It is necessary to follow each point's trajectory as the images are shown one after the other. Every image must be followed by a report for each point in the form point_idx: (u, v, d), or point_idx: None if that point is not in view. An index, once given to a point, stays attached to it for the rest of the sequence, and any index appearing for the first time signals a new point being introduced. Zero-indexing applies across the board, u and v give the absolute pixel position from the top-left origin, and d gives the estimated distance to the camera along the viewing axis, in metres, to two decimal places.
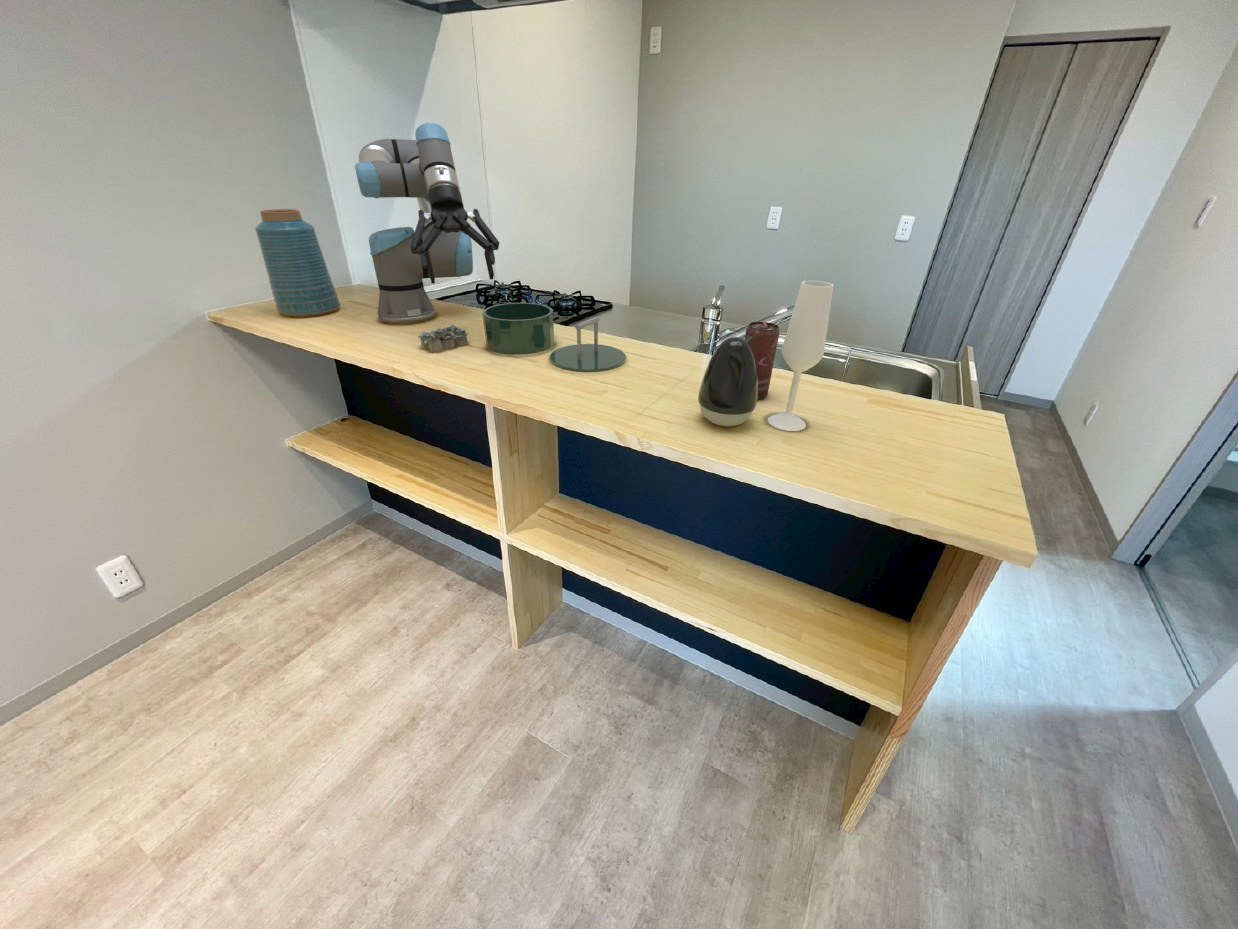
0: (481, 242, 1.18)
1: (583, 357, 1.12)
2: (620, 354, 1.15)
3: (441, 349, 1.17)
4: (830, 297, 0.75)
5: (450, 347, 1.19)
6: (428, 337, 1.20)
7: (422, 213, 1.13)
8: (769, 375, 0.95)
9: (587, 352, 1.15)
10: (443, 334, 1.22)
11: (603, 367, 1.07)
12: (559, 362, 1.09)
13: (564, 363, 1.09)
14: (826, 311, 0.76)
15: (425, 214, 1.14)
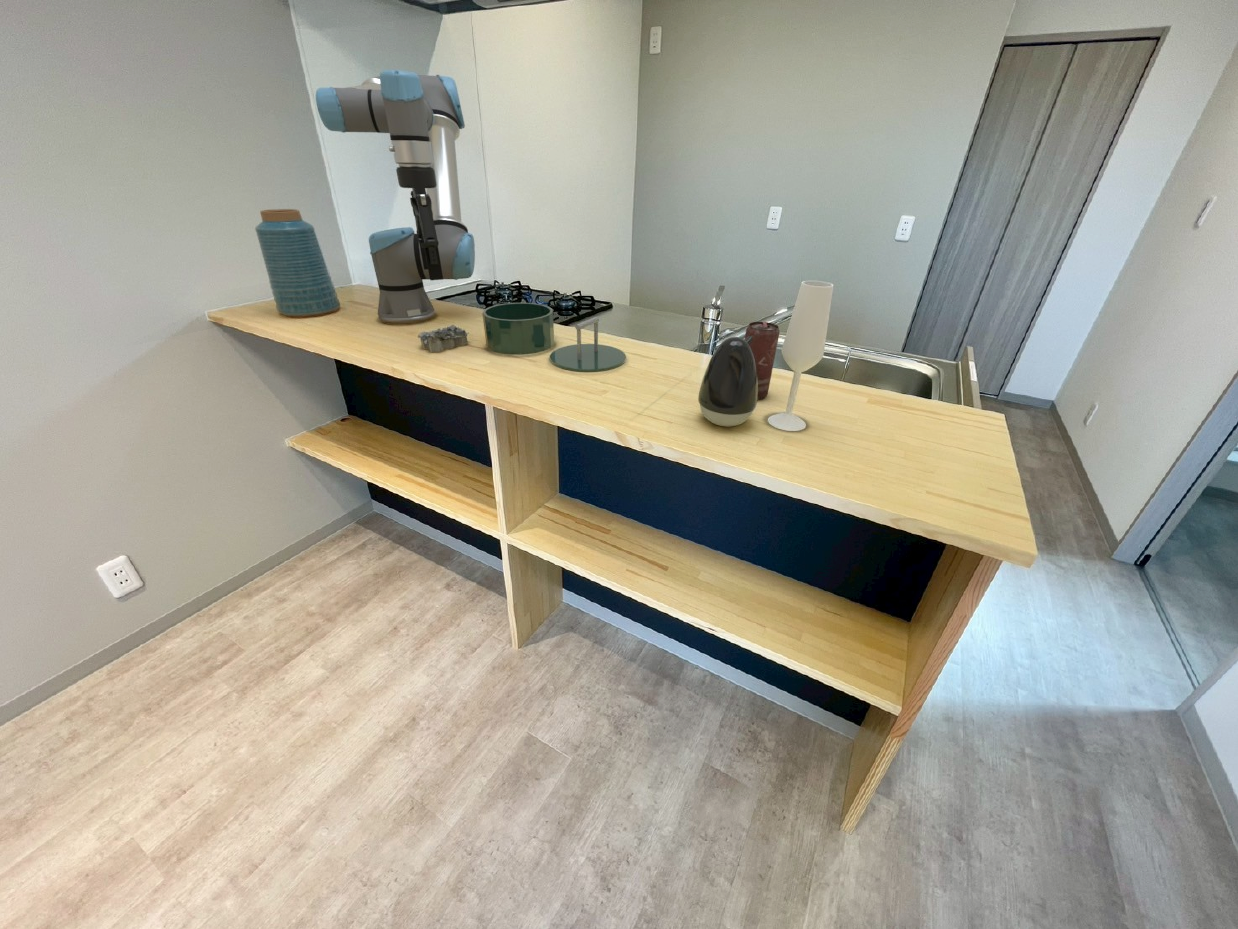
0: None
1: (583, 357, 1.12)
2: (620, 354, 1.15)
3: (441, 349, 1.17)
4: (830, 297, 0.75)
5: (450, 347, 1.19)
6: (428, 337, 1.20)
7: (411, 195, 1.09)
8: (769, 375, 0.95)
9: (587, 352, 1.15)
10: (443, 334, 1.22)
11: (603, 367, 1.07)
12: (559, 362, 1.09)
13: (564, 363, 1.09)
14: (826, 311, 0.76)
15: None
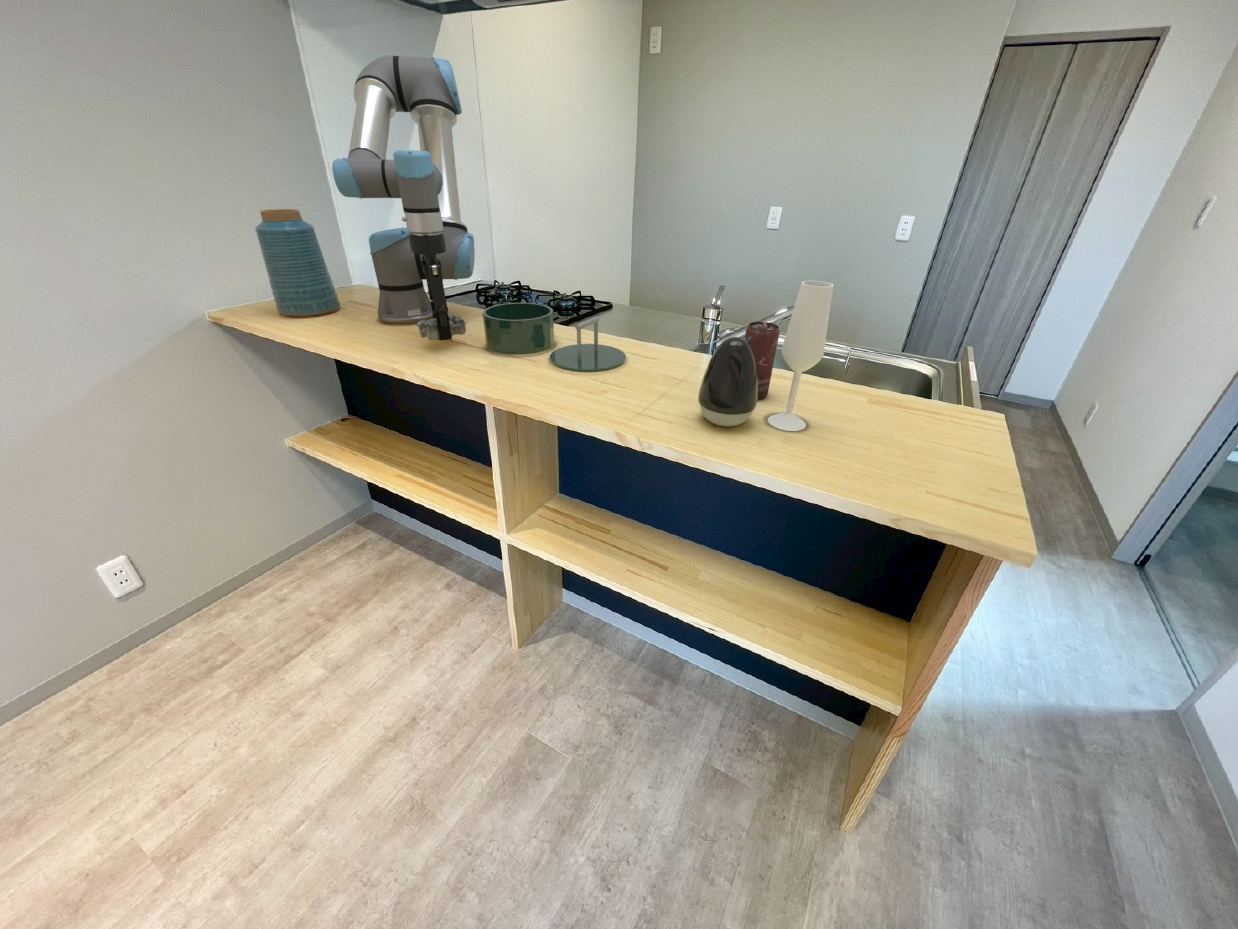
0: None
1: (583, 357, 1.12)
2: (620, 354, 1.15)
3: (439, 338, 1.16)
4: (830, 297, 0.75)
5: None
6: (426, 326, 1.19)
7: (422, 259, 1.16)
8: (769, 375, 0.95)
9: (587, 352, 1.15)
10: None
11: (603, 367, 1.07)
12: (559, 362, 1.09)
13: (564, 363, 1.09)
14: (826, 311, 0.76)
15: None
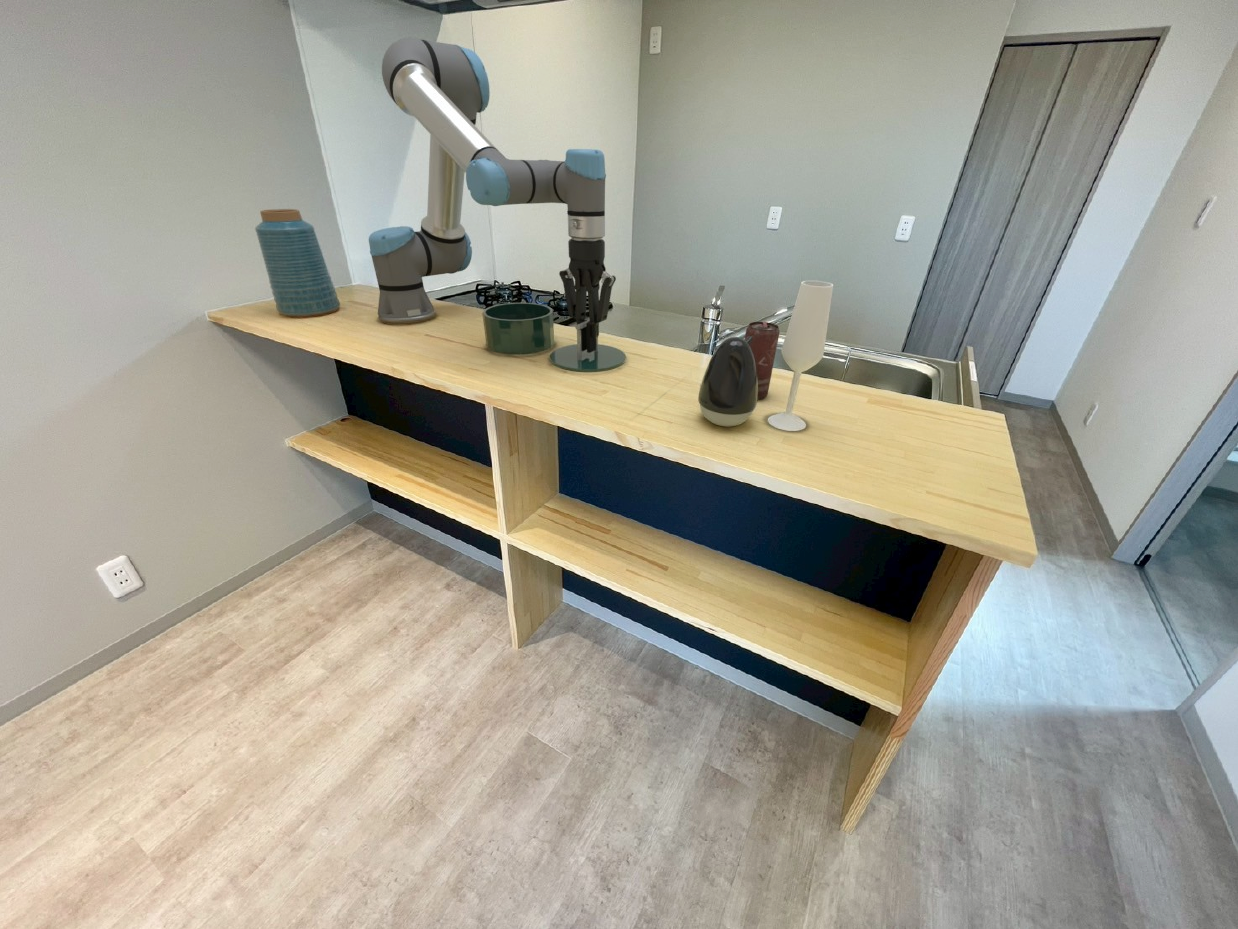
0: None
1: (583, 357, 1.12)
2: (620, 354, 1.15)
3: None
4: (830, 297, 0.75)
5: None
6: None
7: (562, 274, 1.06)
8: (769, 375, 0.95)
9: (587, 352, 1.15)
10: None
11: (603, 367, 1.07)
12: (559, 362, 1.09)
13: (564, 363, 1.09)
14: (826, 311, 0.76)
15: (566, 271, 1.06)
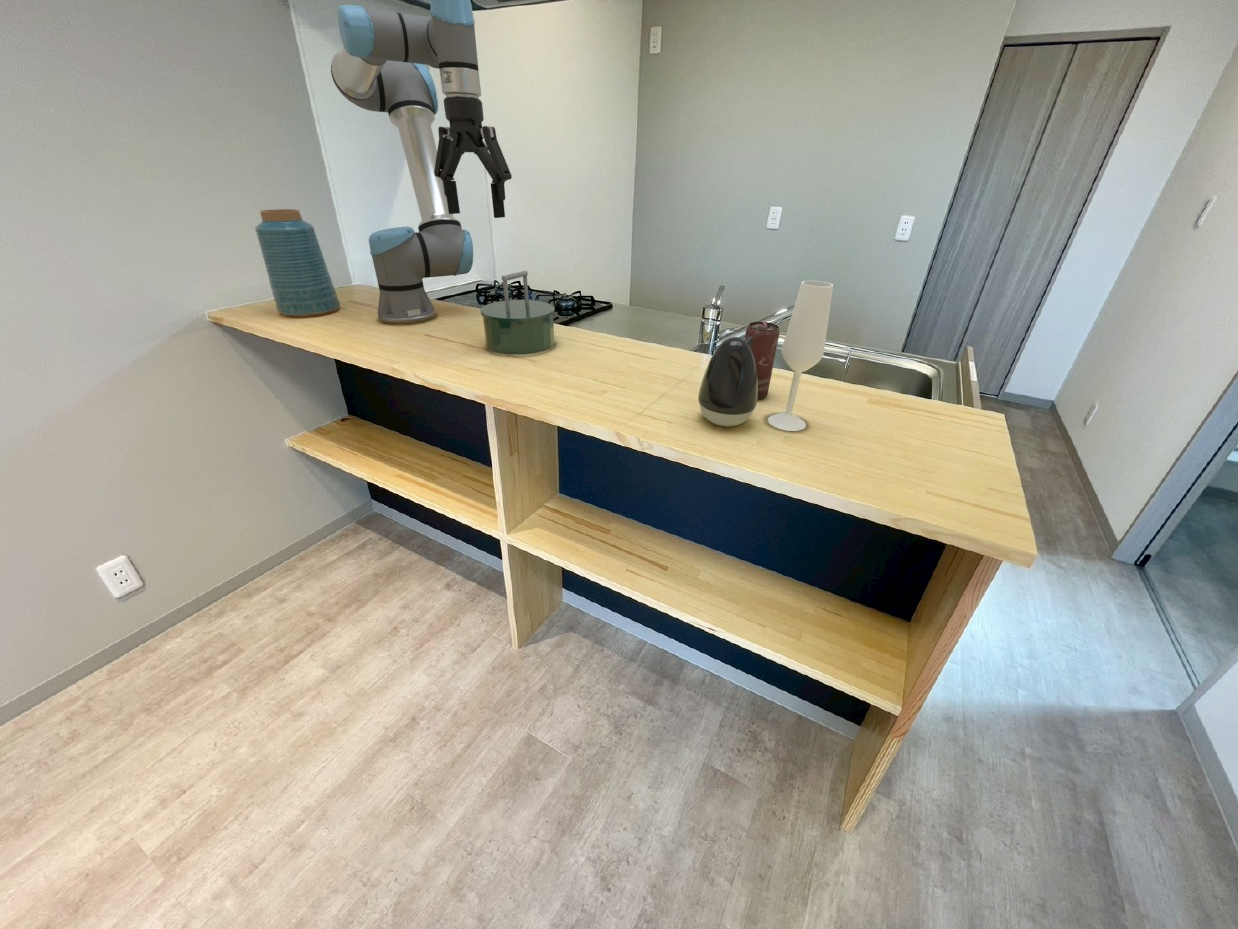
0: None
1: (512, 309, 1.17)
2: (549, 307, 1.19)
3: None
4: (830, 297, 0.75)
5: None
6: None
7: (441, 131, 1.03)
8: (769, 375, 0.95)
9: (518, 306, 1.20)
10: None
11: (528, 317, 1.11)
12: (487, 313, 1.14)
13: (492, 314, 1.13)
14: (826, 311, 0.76)
15: (446, 130, 1.03)
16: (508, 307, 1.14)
